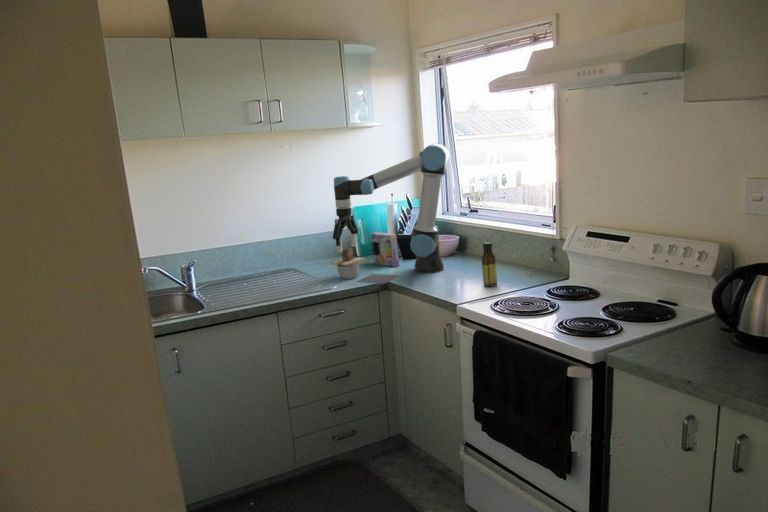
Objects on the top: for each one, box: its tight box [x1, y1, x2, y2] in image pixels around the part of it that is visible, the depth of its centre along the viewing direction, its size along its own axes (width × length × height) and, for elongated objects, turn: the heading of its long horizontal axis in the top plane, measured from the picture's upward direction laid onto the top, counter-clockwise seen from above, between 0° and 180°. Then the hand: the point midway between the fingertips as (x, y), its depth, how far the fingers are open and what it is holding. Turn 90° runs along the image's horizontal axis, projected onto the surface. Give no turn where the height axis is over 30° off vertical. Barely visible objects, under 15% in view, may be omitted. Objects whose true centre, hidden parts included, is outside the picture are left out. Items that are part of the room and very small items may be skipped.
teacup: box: [336, 263, 360, 280], centre depth 294 cm, size 14×11×8 cm
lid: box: [330, 247, 367, 266], centre depth 293 cm, size 13×13×7 cm
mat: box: [356, 273, 400, 285], centre depth 287 cm, size 16×16×1 cm
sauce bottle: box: [481, 241, 498, 287], centre depth 259 cm, size 7×6×20 cm
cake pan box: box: [370, 231, 400, 267], centre depth 316 cm, size 19×5×18 cm, turn 37°
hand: (347, 249), depth 292 cm, fingers open, 13 cm apart
